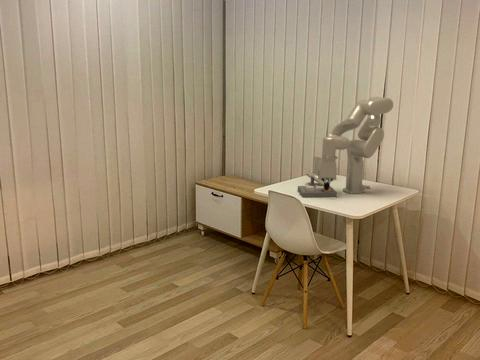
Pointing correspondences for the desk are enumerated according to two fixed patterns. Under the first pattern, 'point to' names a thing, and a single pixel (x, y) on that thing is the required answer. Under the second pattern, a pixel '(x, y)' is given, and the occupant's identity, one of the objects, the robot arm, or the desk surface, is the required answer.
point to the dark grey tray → (317, 192)
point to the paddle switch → (312, 182)
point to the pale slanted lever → (315, 178)
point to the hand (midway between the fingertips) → (326, 189)
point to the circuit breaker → (316, 163)
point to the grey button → (309, 189)
